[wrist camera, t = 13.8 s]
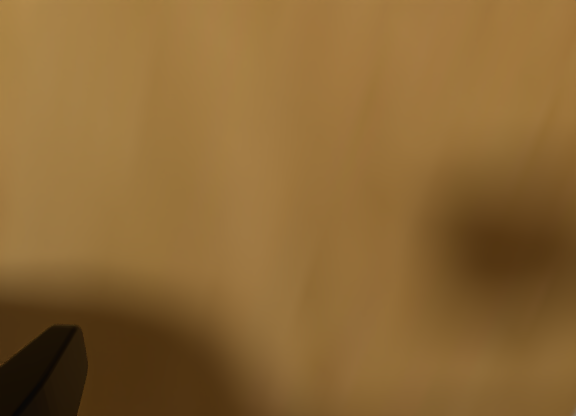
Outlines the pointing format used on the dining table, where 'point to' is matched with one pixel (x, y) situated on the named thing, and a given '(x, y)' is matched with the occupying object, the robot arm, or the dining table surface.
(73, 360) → the robot arm
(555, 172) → the dining table surface
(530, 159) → the dining table surface
